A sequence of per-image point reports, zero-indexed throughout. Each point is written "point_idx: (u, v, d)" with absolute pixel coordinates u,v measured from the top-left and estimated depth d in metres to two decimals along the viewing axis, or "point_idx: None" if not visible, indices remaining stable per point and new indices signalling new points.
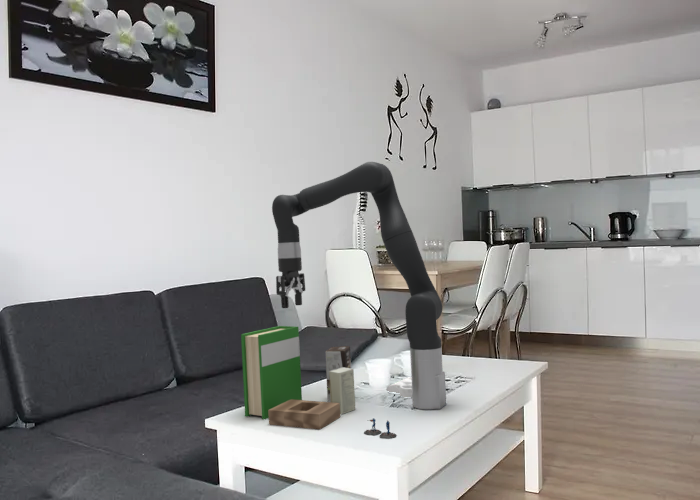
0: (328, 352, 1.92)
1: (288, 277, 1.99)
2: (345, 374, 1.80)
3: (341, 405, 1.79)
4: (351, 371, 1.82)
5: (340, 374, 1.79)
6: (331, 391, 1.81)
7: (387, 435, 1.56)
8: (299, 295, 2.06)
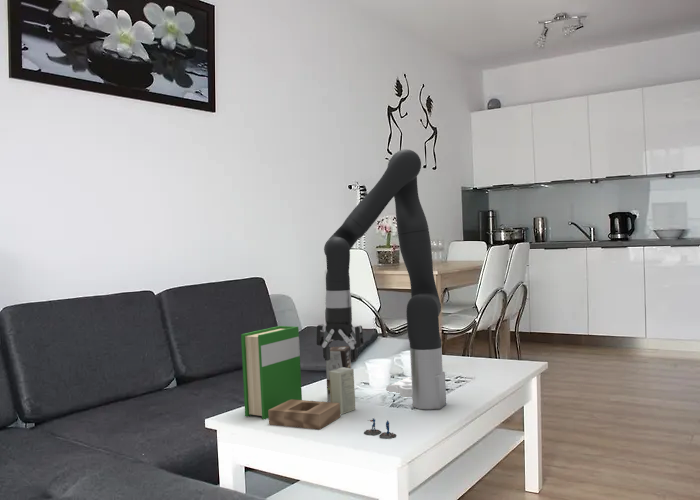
0: None
1: None
2: (345, 374, 1.80)
3: (341, 405, 1.79)
4: (351, 371, 1.82)
5: (340, 374, 1.79)
6: (331, 391, 1.81)
7: (387, 435, 1.56)
8: (329, 348, 1.85)
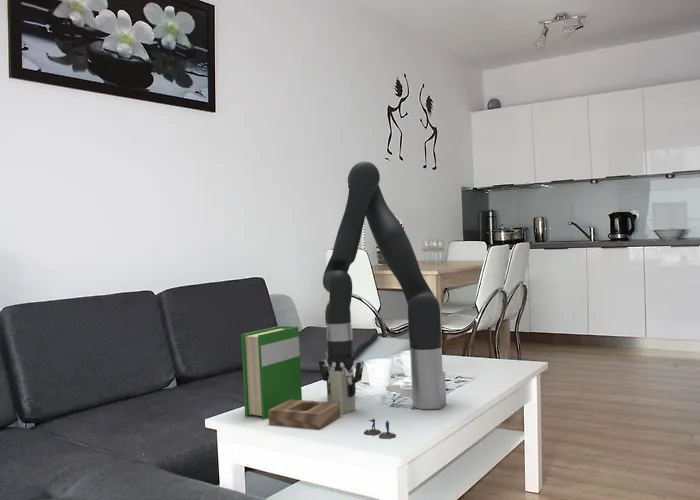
0: None
1: None
2: None
3: (341, 405, 1.79)
4: None
5: (340, 374, 1.79)
6: (331, 391, 1.81)
7: (386, 435, 1.56)
8: None
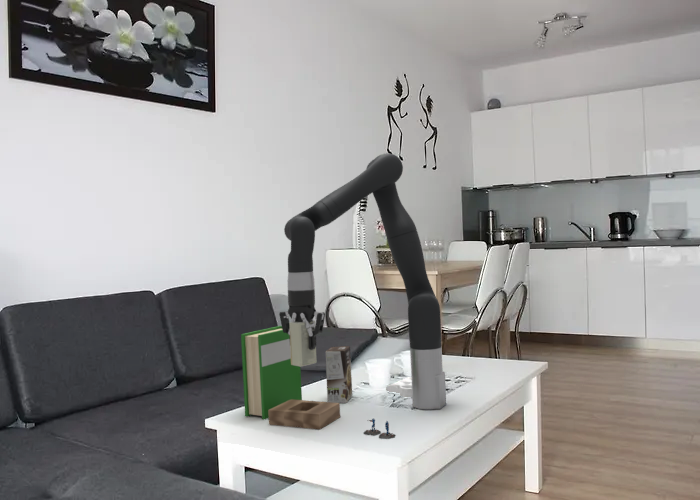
0: (328, 352, 1.92)
1: None
2: None
3: (301, 357, 1.72)
4: None
5: (300, 325, 1.72)
6: (291, 343, 1.74)
7: (386, 436, 1.56)
8: None
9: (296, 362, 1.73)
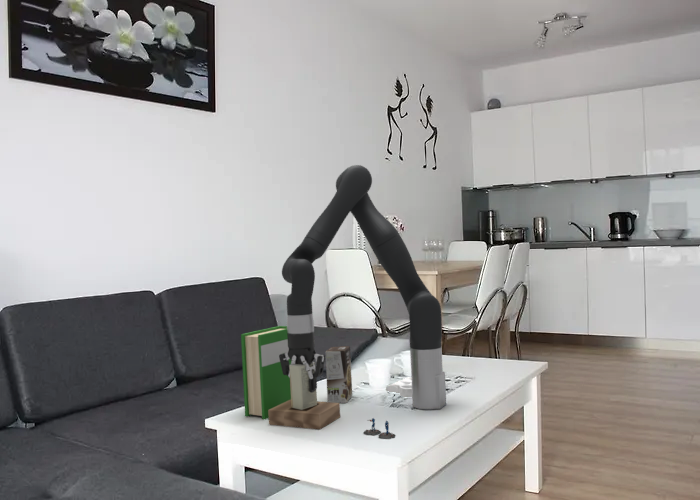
0: (328, 352, 1.92)
1: None
2: None
3: (301, 400, 1.71)
4: (312, 365, 1.74)
5: (300, 368, 1.71)
6: (291, 386, 1.73)
7: (386, 435, 1.56)
8: None
9: (297, 405, 1.72)
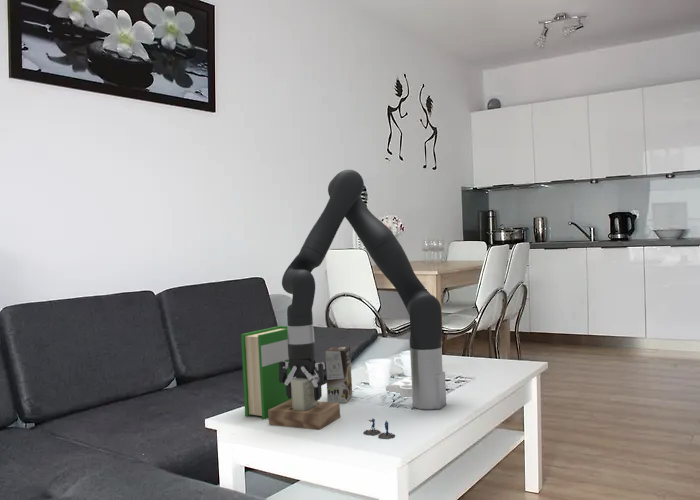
0: (328, 352, 1.92)
1: None
2: (308, 382, 1.72)
3: None
4: None
5: (302, 382, 1.71)
6: (293, 400, 1.73)
7: (386, 435, 1.56)
8: None
9: None
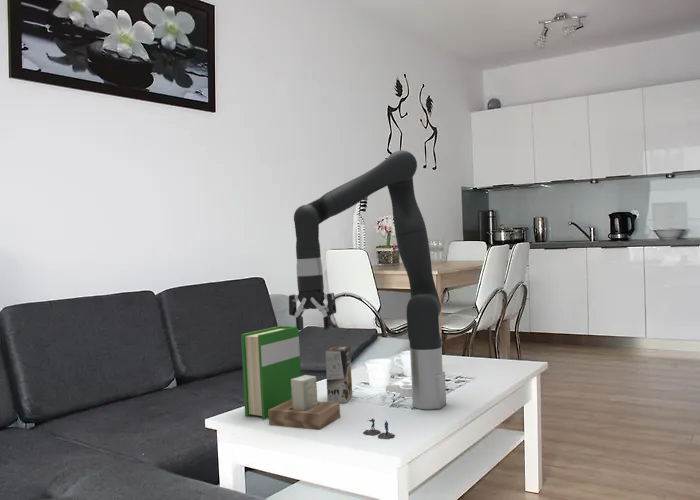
0: (328, 352, 1.92)
1: None
2: (308, 382, 1.72)
3: None
4: (314, 379, 1.74)
5: (302, 382, 1.71)
6: (293, 400, 1.73)
7: (385, 435, 1.56)
8: (302, 318, 1.84)
9: None
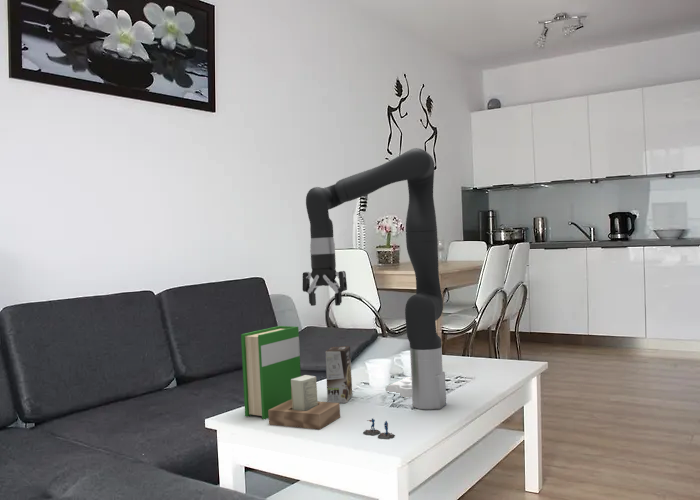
0: (328, 352, 1.92)
1: None
2: (308, 382, 1.72)
3: None
4: (314, 379, 1.74)
5: (302, 382, 1.71)
6: (293, 400, 1.73)
7: (385, 435, 1.56)
8: (314, 294, 1.94)
9: None
